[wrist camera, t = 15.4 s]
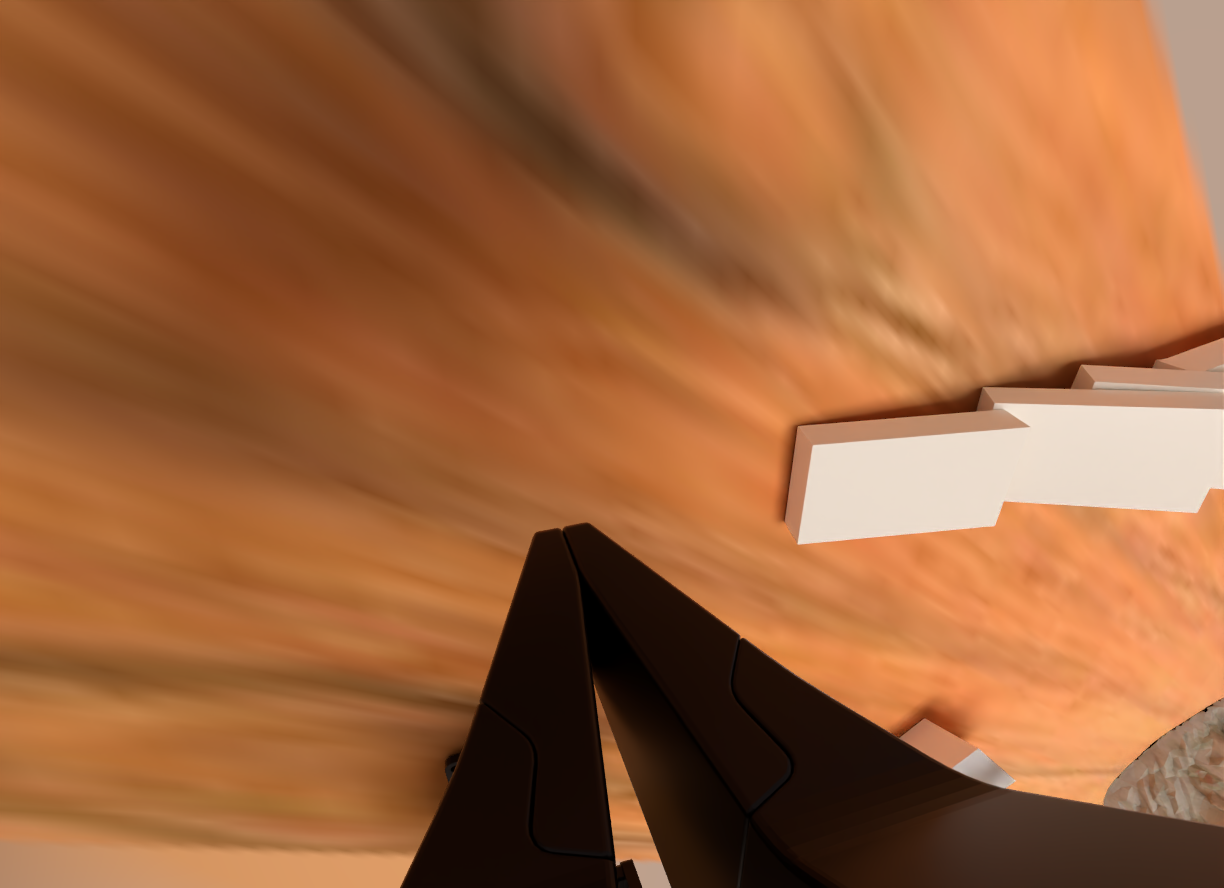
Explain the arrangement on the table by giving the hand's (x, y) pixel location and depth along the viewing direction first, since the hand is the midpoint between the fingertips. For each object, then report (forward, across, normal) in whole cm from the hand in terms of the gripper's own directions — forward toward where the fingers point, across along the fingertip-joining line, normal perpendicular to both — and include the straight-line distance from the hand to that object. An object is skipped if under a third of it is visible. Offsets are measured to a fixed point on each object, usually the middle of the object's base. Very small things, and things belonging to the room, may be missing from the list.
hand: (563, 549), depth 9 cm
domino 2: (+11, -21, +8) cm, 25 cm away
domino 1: (+11, -12, +8) cm, 18 cm away
